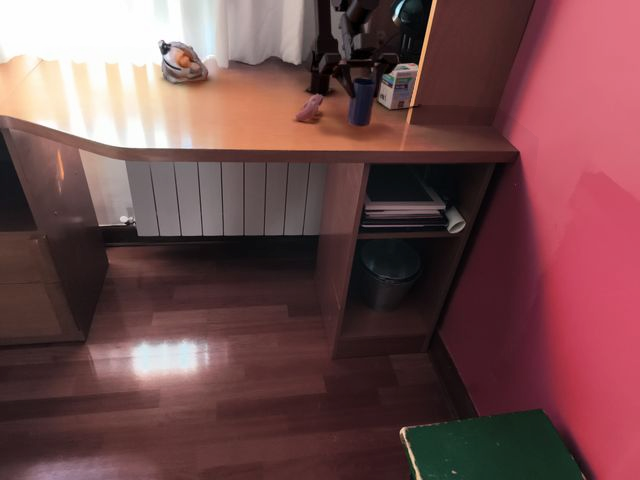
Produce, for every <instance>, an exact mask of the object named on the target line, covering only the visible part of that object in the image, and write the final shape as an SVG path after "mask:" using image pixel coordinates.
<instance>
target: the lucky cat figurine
mask: <svg viewBox="0 0 640 480" xmlns="http://www.w3.org/2000/svg"><path fill="white" fill-rule="evenodd" d="M157 45H158V48H159V50H160V53H161V56H162V57H161V59H162V60H161V72H162V75H163V79H164V80H167V81H169V82H171V83H173V84H176V83H180V82H192V81H193V82H194V81H207V80H208V77H209V70H208V68H207V66H206V65H205V64H204V63H203V61H202V60H201V59H200V57H199V55H198V54H197V52H196V51H195V50H194V48H193V46H191V45H187V44H186V43H184V42H181V41H175V40H173V41H169V42H168V43H167V42H165V40H164V39H160V40H159V41H158V42H157Z"/></svg>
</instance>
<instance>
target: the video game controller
mask: <svg viewBox="0 0 640 480" xmlns="http://www.w3.org/2000/svg"><path fill="white" fill-rule="evenodd" d="M324 99H325V97H324V95H320V94H318V93H317V94H313V95H311V96H310V98H309V99H308V100H306V101H305V102H304V103H303V105H302V108H303V109H301V110H299V111H298V112H297V113H296V114H295V119H296V120H297V121H298V122H303V121H306V120H308V119H309V120H311V119H312V118H313V116H314V115H318V114H319V113H320V110H319V108H320V106H321V105H322V103H323V101H324Z"/></svg>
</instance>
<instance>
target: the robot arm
mask: <svg viewBox="0 0 640 480" xmlns="http://www.w3.org/2000/svg"><path fill="white" fill-rule="evenodd" d="M380 4H381V0H313V15H314V38H313V40H312V42H311V43H310V47H309V48H310V50H309V52H308V55H306V59H305V69H306V70H307V71H308V73H310V86H309V87H307V88H306V89H305V92H307V93H312V94H315V95H317V93H318V95H322V96H327V95H328V94H329V93H331V92H332V91H334V88H333V87H330V83H331V78H332V79H335V80H336V81H337V82H338V83H339V84H340V85H341V87H342V88H343V89H344V91H345V92H346V93H347V95H348V96H349V99H350V98H351V99H353V98H354V89H353V85H352V80H353V79H352V77H351V69H370V74H369V76H368V79H372V80H374V81H375V82H376V89H375V95H374V99H377V98H378V97H379V92H380V86H381V81H382V77H383V75H387V74H390V73H391V72H392V71H393V70H394V69H395V68H396V66H397V65H398V64H400V59H399V55H398V54H397V53H395V52H382V53H381V54H380V55H379V56H378V58H371V57H372V56H374V54H375V50H379V49H380V47H384V46H386V44H387V38H386V32H385V30H377V31H374V32H372V33H371V32H370V33H369V32H366V26H365V25H366V24H368V23H369V22H370V20H371V19H372V18H373V15H374V14H375V12H376V11H377V9H378V7H379V6H380ZM331 7H332V8H333V10H334V12H336V13H343V14H341V16H340V18H339V23H338V27H337V28H338V30H340V31H341V38H342V46H341V51H344V56H345V57H342V53H340V51H339V39H337V38H335V37H334V35H333V33H332V32H333V30H332V9H331Z"/></svg>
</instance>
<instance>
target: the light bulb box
mask: <svg viewBox="0 0 640 480" xmlns="http://www.w3.org/2000/svg"><path fill="white" fill-rule="evenodd" d="M418 66H419V65H418V64H416V63H414V62H411V63H399V64H398V65H397V66H396V68H395V69H394V70H393V71H392V72H391V73H390V74H387V75H382V76H381V82H380V88H379V94H378V101H377V102H378V103H380V104H381V105H383V106H384V107H386V108H387V109H388V110H398V109H408V108H411V107H410V102H411V98H412V94H413V89H414V84H415V80H416V76H417V71H418Z"/></svg>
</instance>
